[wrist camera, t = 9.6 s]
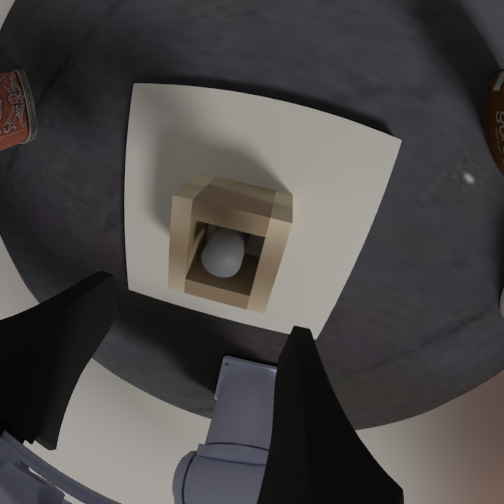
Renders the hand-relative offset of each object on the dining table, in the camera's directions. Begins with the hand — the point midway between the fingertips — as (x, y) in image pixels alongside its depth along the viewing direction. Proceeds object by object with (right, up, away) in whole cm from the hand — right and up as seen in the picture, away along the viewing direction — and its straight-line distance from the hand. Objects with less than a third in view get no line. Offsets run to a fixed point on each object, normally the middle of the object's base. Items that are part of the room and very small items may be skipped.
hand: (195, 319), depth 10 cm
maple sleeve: (+1, +4, +7) cm, 8 cm away
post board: (+1, +5, +8) cm, 9 cm away
